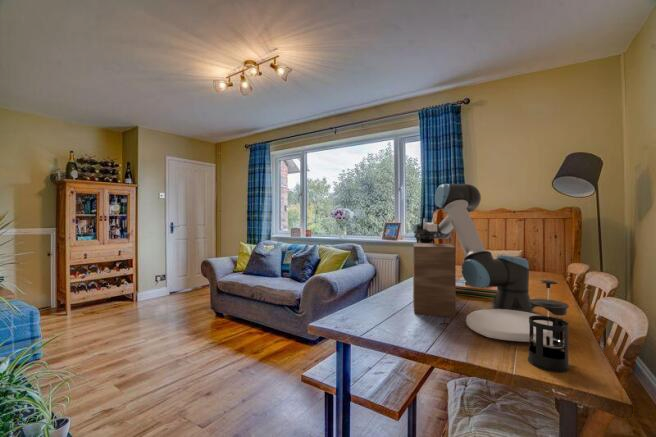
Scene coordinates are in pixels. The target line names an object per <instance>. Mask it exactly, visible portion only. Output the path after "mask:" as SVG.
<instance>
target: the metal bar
mask: <svg viewBox="0 0 656 437" xmlns="http://www.w3.org/2000/svg"><path fill="white" fill-rule="evenodd" d="M434 223H435V222H434ZM434 223H432V222H425V229H426V230H428V231H437V225H438V224H437V223H436V224H434Z"/></svg>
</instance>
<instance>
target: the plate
mask: <svg viewBox="0 0 656 437" xmlns="http://www.w3.org/2000/svg"><path fill="white" fill-rule="evenodd" d="M530 316H542V315H540V314H538V313H534V312H533V313H529V312H523V311H516V310H507V309H493V308H486V309H485V308H484V309H478V310H475V311H472V312H470V313H468V314H467V315H466V317H465V318H466V319H465V323H466V326H467V327H468V328H469V329H471V330H472V331H473V332H475V333H478V334H479V335H482V336H484V337H487V338H491V339H495V340H499V341H500V340H501V341H509V342H520V343H521V342H524V343H525V342H526V343H529V334H530V324H529V317H530ZM534 322H537V323H540V324H544V325H547V321H544V320H534ZM549 325H550V326H553V322H551V321H549ZM533 335H536V327H534V326H533ZM543 335H544V336H547V330H544V329H543ZM549 336H550V337H553V331H549Z"/></svg>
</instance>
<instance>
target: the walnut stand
mask: <svg viewBox="0 0 656 437" xmlns="http://www.w3.org/2000/svg"><path fill="white" fill-rule="evenodd" d="M412 246H413V248H412V254H413V255H412V259H413V261H412V264H413V265H412V266H413V267H412V269H413V271H412V273H413V274H412V285H413V286H412V303H413V304H412V305H413V313H414V315H426V316H436V317H437V316H439V317H455V318H456V317H457V316H456V315H457V314H456V312H457V310H456V306H457V305H456V302H457V301H456V300H457V299H456V296H457V295H456V293H457V292H456V289H457V288H456V285H457V284H456V281H457V280H456V276H457V275H456V273H457V272H456V260H457V258H456V256H457V254H456V249H457V248H456V246H454V245H453V244H451V243H433V244H430V243H417V242H416V243H414V242H413V243H412Z"/></svg>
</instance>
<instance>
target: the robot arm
mask: <svg viewBox="0 0 656 437" xmlns="http://www.w3.org/2000/svg"><path fill="white" fill-rule="evenodd" d="M434 193H435V194H434V204H435V206H436V207H438V208H440V209H441V208H442V210H443V212H444V214H445V215H446V216H445V217H444V218H443V219H442V220H441V221H440V223H439V224H437V223H436V222H435V218H434V217H432V219H431V223H434V224H437V231H428V230H426V229H425V223H426V217H423V220H422V221H423V222H416V223H415V224H414V225H413V226H412V227H413V229H412V230H413V234H414V238H415V240H416V243H430V244H434V239H435V240H439V239H441V240H445V239H449V238H450V237H451V236H452V230H453V229H454V231H455V233H456V237H457V239H458V242H459V244H460V246H461V249H462V252H463V254H464V258H463V260H462V261H463V262H462V264H461V276H462V278H463V279H464V281H465V282H466V283H467V284H468V285H469V286H471V287H473V288H481V289H485V288H495V287H496V289H497V290H496V294H495V295H494V299H493V302H492V309H507V310H516V311H523V312H529V313H534V308H533V309H531V303H529V300H530V299H531V296H530V293H529V290H530V289H529V288H530V287H529V284H530V281H529V280H530V278H529V277H530V274H529V273H530V267H529V266H530V265H529V260H527V258H524V257H518V256H510V255H502V254H498V255H497V257H496V258H494V257H493V254H492V252H491V251H489V250H487V249H486V248H485V246H484V244H483V242H482V240H481V236H480V234H479V232H478V230H477V229H476V226H475V224H474V222H473V219H472V217H471V216H470V213H472V212H474V211H475V210H476V209H478V207H479V205H480V202H481V200H482V197H481V193H480V190H479V189H478V188H477V187H476V186H475V185H472V184H468V183H466V184H465V183H464V184H463V183H461V184H460V183H456V184H455V183H443V184H440V185H438V187H437V189H436V190H435V192H434Z"/></svg>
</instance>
